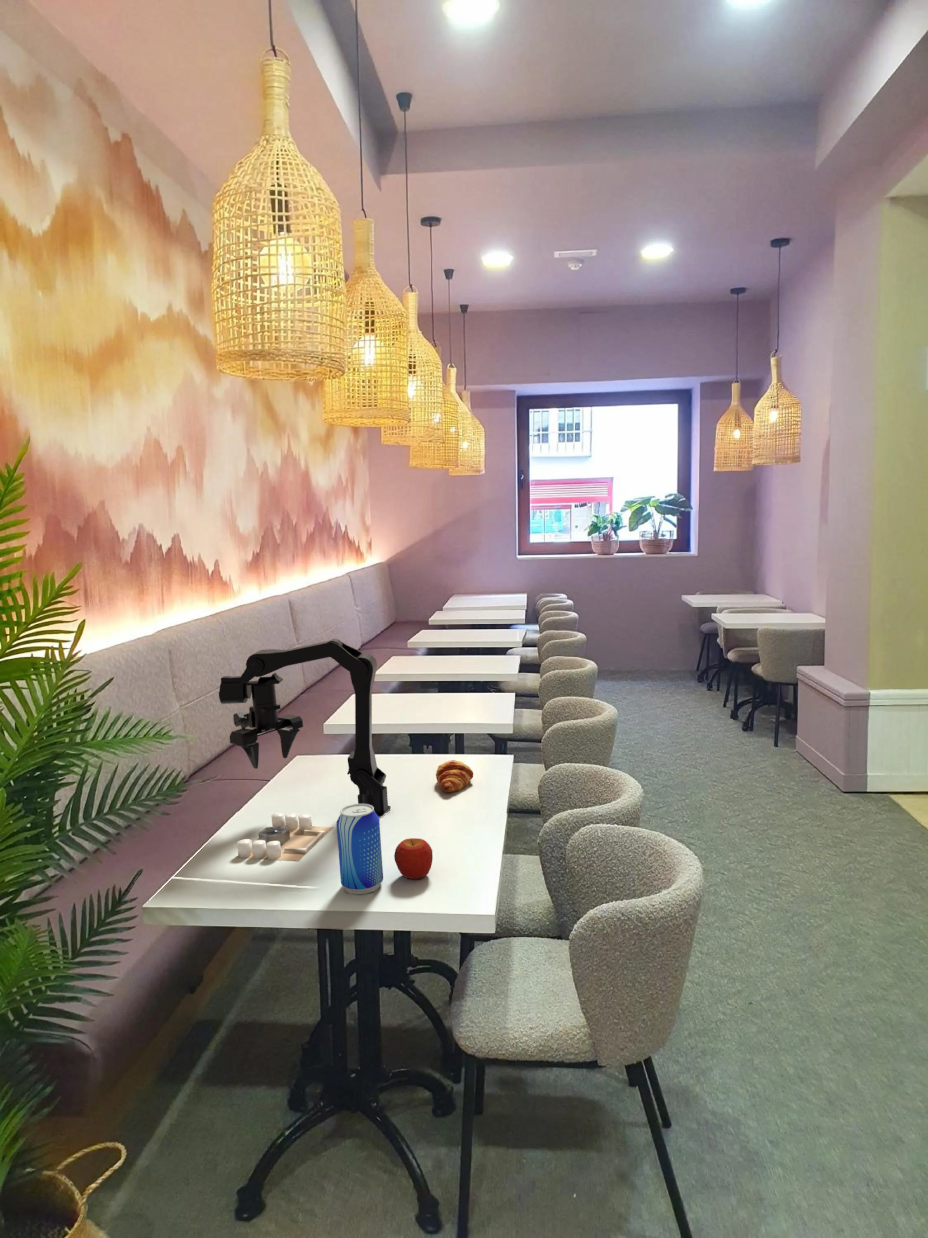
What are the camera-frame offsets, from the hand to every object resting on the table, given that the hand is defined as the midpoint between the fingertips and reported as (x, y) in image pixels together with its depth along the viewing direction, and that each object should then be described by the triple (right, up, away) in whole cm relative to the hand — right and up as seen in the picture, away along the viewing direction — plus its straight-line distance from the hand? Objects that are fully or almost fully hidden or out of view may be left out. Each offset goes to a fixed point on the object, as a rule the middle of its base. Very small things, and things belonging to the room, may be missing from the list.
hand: (270, 763), depth 203 cm
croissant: (+46, -9, +20) cm, 51 cm away
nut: (+5, -15, -15) cm, 22 cm away
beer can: (+28, -18, -40) cm, 52 cm away
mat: (+7, -16, -16) cm, 24 cm away
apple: (+38, -17, -36) cm, 55 cm away
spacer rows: (+5, -15, -16) cm, 22 cm away
